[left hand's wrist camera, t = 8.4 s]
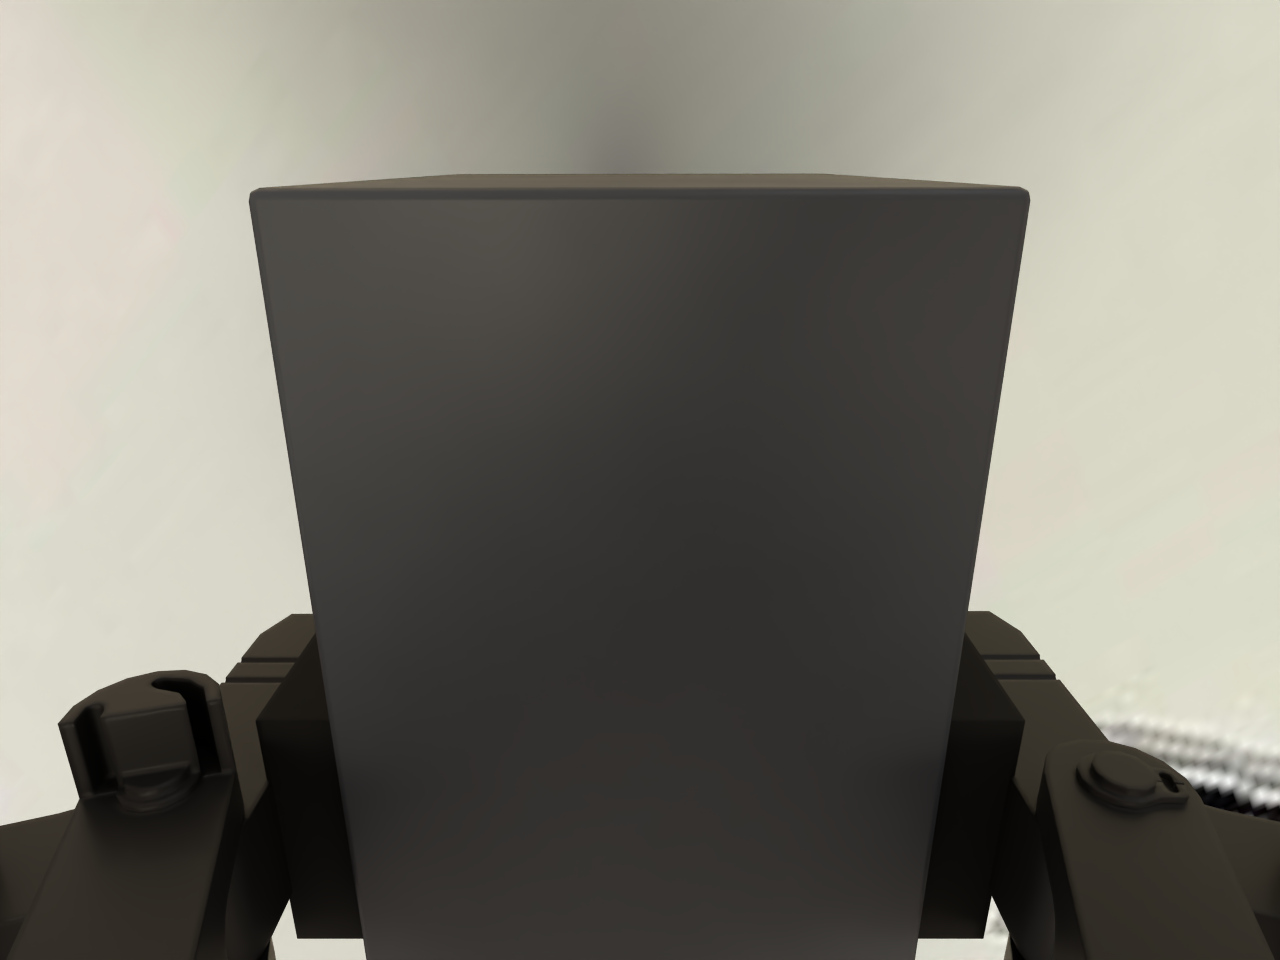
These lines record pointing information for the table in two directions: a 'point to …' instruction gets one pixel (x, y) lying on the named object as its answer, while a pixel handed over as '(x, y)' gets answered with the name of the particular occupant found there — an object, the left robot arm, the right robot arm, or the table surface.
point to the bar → (640, 545)
